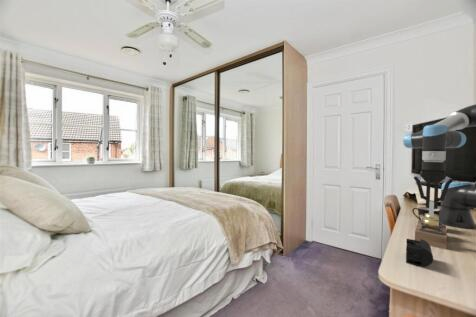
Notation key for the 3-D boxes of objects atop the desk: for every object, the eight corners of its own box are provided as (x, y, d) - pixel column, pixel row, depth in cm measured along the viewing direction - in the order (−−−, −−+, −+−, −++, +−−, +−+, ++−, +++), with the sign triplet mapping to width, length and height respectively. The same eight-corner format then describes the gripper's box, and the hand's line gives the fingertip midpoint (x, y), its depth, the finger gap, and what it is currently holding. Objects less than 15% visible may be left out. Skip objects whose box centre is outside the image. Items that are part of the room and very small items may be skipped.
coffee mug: (443, 231, 110) (444, 211, 110) (423, 230, 112) (424, 210, 112) (428, 223, 122) (428, 205, 121) (410, 222, 123) (410, 204, 123)
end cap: (432, 270, 74) (433, 250, 73) (406, 263, 78) (406, 244, 78) (430, 259, 81) (431, 240, 81) (406, 253, 86) (406, 236, 86)
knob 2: (423, 222, 100) (423, 217, 100) (438, 225, 96) (439, 219, 96) (423, 225, 96) (423, 220, 96) (438, 228, 93) (438, 222, 92)
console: (418, 230, 111) (418, 218, 111) (445, 235, 104) (446, 222, 104) (414, 242, 96) (415, 228, 96) (446, 249, 90) (446, 234, 89)
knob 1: (424, 217, 108) (425, 212, 108) (438, 219, 104) (439, 214, 104) (424, 219, 104) (424, 214, 104) (438, 222, 101) (439, 217, 101)
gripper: (413, 161, 97) (411, 214, 98) (455, 162, 88) (452, 221, 89) (414, 160, 102) (412, 211, 103) (454, 161, 94) (451, 217, 94)
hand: (431, 216), depth 96 cm, fingers closed
